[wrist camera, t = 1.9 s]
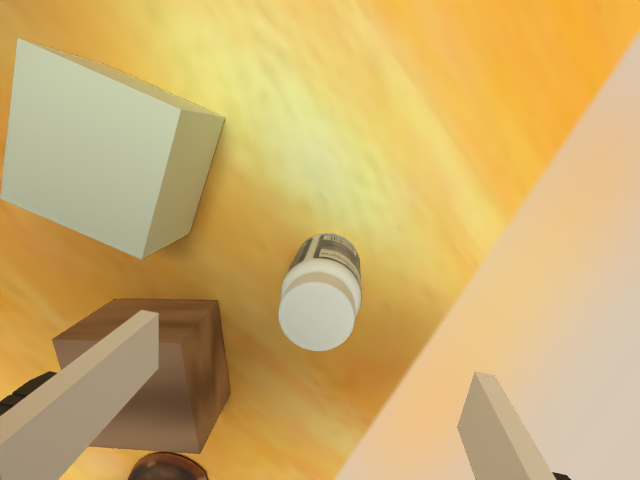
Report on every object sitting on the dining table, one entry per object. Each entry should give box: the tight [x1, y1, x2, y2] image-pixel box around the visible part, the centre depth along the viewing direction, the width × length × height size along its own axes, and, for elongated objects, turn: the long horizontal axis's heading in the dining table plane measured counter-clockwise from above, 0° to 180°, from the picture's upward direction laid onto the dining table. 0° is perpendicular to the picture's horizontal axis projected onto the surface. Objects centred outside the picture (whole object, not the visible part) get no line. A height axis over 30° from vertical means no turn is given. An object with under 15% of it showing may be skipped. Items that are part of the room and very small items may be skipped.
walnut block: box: [52, 299, 230, 454], centre depth 26 cm, size 9×9×6 cm
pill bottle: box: [278, 233, 362, 351], centre depth 21 cm, size 5×5×8 cm
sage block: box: [0, 38, 225, 260], centre depth 21 cm, size 9×9×6 cm
